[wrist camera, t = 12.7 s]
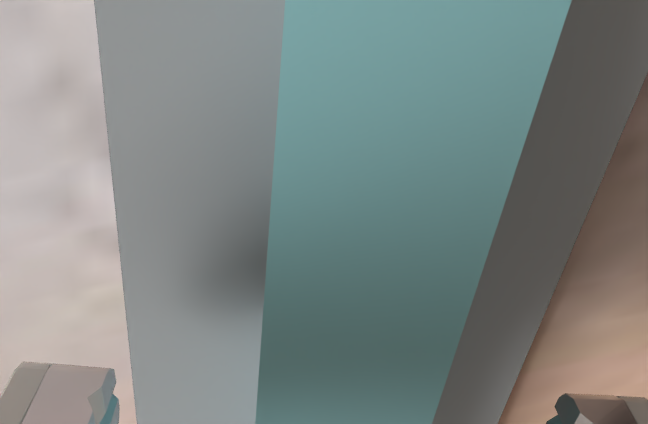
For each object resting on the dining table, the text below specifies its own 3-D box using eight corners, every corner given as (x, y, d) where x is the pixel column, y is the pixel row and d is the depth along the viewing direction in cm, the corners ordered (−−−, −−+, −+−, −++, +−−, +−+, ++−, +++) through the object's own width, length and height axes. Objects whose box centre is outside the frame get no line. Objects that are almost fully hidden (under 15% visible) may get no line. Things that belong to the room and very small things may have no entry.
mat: (71, -436, 7) (46, -464, 6) (777, -322, 8) (821, -336, 7) (156, 538, 19) (151, 565, 18) (429, 548, 20) (433, 573, 19)
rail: (310, -295, 7) (310, -362, 5) (549, -261, 7) (672, -306, 5) (247, 552, 18) (237, 670, 15) (344, 555, 18) (350, 671, 16)
